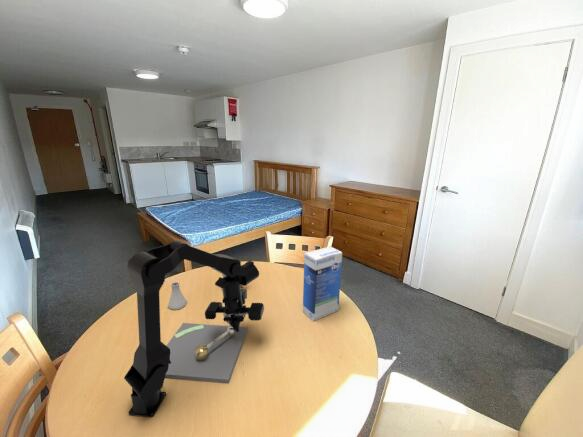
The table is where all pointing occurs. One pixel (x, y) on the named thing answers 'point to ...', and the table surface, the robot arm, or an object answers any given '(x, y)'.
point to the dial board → (218, 359)
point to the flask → (176, 297)
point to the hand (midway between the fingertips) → (237, 331)
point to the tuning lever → (213, 344)
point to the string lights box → (321, 282)
